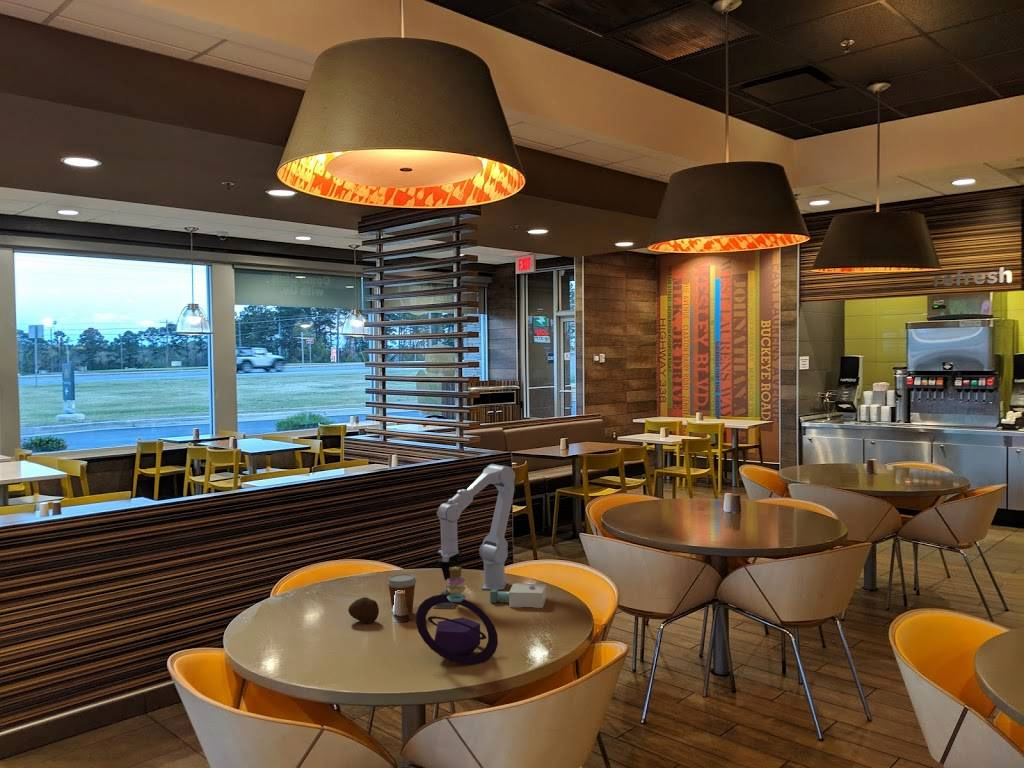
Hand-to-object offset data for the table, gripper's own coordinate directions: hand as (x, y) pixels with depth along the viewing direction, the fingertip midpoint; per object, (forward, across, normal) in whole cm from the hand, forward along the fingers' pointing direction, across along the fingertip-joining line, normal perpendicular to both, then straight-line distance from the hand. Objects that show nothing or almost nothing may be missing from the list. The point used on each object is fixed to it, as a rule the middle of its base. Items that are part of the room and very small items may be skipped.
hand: (450, 577), depth 275 cm
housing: (+7, +3, +27) cm, 28 cm away
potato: (+8, +25, -23) cm, 35 cm away
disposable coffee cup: (+8, +16, -13) cm, 22 cm away
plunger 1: (+6, +7, 0) cm, 9 cm away
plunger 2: (+6, 0, 0) cm, 6 cm away
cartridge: (+7, +3, +22) cm, 23 cm away
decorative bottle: (+8, +50, +13) cm, 52 cm away
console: (+7, +3, 0) cm, 8 cm away
